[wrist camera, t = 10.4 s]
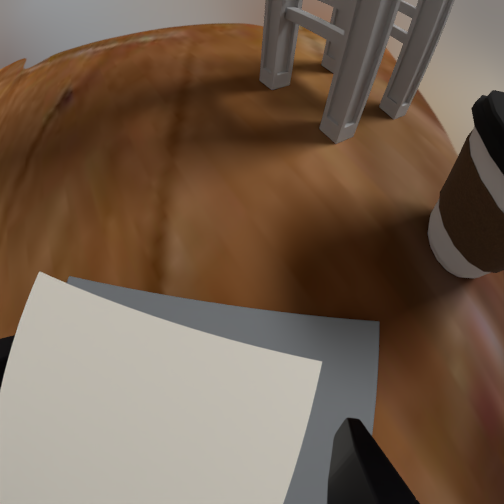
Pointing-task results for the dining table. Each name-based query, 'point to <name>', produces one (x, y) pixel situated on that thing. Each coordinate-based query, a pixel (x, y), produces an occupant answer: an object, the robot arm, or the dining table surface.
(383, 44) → the stool
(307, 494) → the mat
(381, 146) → the dining table surface
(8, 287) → the dining table surface
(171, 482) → the card box
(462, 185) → the coffee cup
